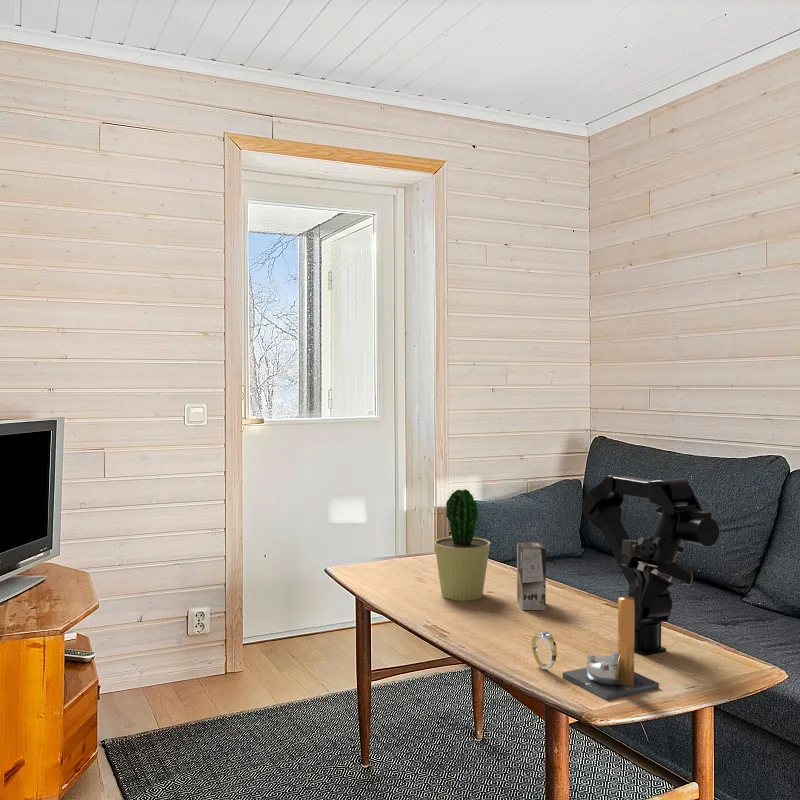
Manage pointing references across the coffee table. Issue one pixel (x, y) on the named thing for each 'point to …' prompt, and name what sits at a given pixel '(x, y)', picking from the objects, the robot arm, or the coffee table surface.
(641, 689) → the plate
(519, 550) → the coffee box
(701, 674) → the coffee table surface
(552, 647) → the ring
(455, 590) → the potted cactus
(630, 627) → the brown rod on base
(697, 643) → the coffee table surface
